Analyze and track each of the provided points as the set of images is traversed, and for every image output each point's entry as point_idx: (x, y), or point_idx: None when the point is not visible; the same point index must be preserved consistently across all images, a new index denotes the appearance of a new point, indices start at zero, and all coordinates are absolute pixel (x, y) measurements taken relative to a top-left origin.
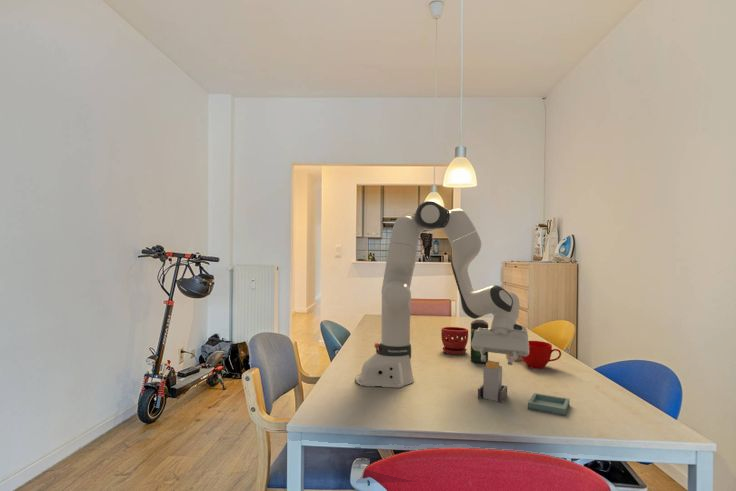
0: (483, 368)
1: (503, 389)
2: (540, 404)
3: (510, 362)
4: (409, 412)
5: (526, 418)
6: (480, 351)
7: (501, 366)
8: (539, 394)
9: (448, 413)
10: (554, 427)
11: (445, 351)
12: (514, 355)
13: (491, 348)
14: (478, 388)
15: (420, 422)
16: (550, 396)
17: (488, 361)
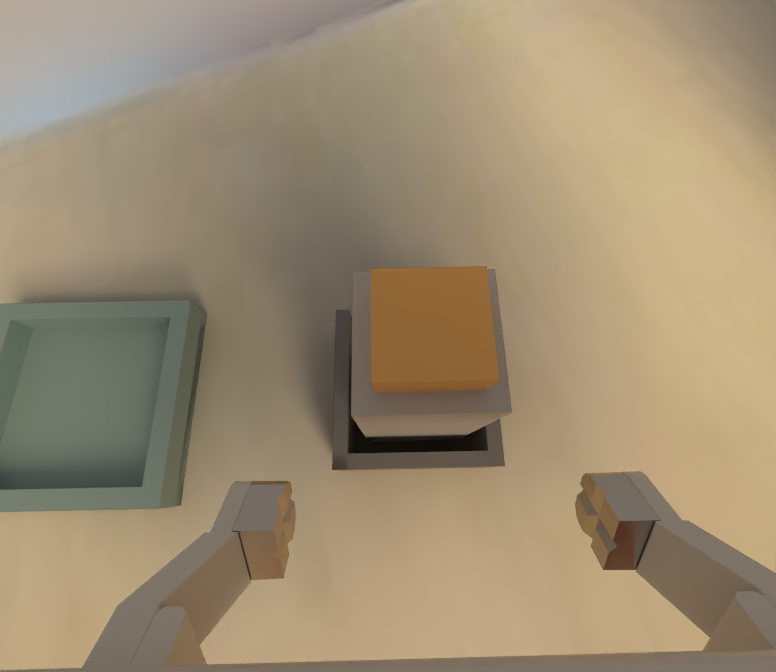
0: (491, 273)
1: (338, 373)
2: (123, 305)
3: (252, 481)
4: (629, 51)
5: (205, 205)
6: (755, 567)
7: (352, 405)
8: (123, 494)
9: (503, 106)
10: (95, 173)
11: None
12: (161, 581)
13: (618, 661)
14: None
15: (542, 6)
16: (52, 489)
17: (489, 341)
